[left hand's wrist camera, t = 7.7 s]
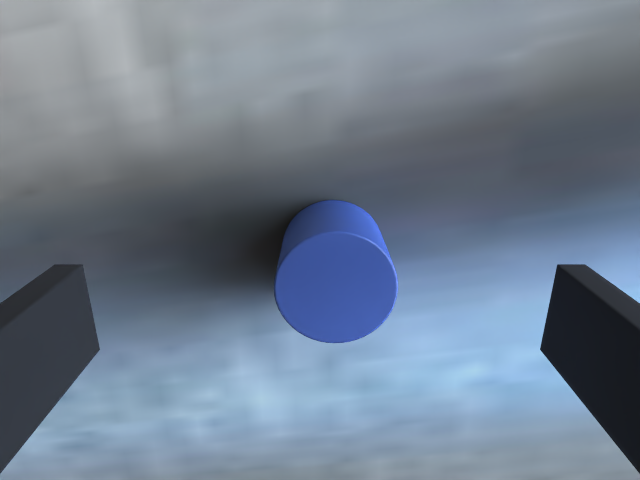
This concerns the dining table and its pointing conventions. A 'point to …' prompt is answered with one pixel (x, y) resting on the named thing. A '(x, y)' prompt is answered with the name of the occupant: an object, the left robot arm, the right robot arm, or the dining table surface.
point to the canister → (334, 273)
